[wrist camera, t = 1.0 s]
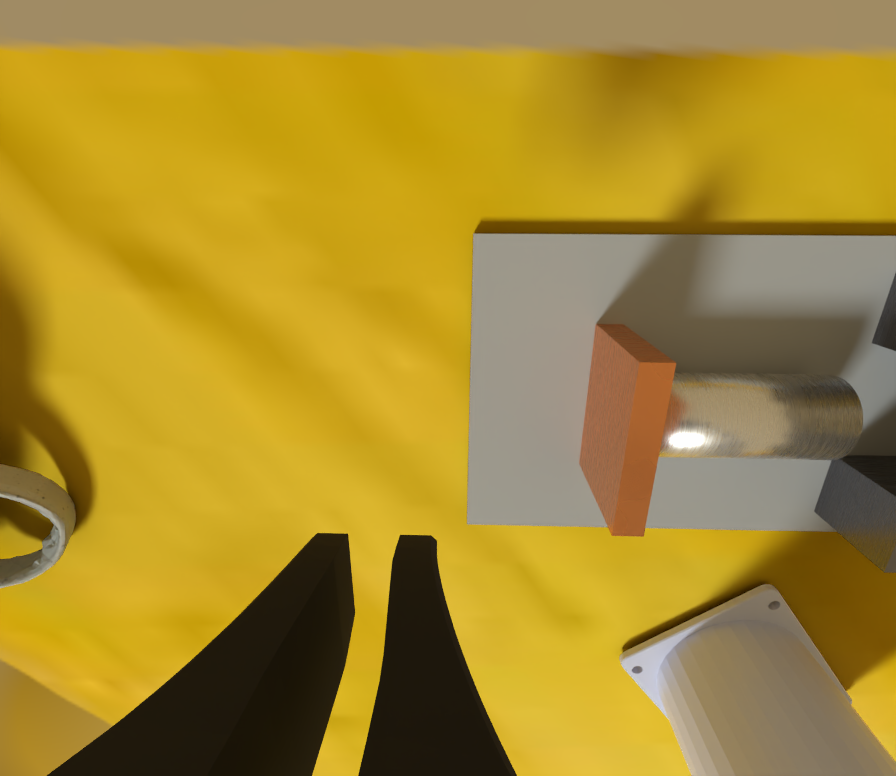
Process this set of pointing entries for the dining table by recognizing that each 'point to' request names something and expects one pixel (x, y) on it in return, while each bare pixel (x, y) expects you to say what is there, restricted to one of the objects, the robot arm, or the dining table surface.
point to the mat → (681, 339)
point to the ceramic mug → (51, 505)
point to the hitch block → (866, 482)
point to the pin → (697, 420)
